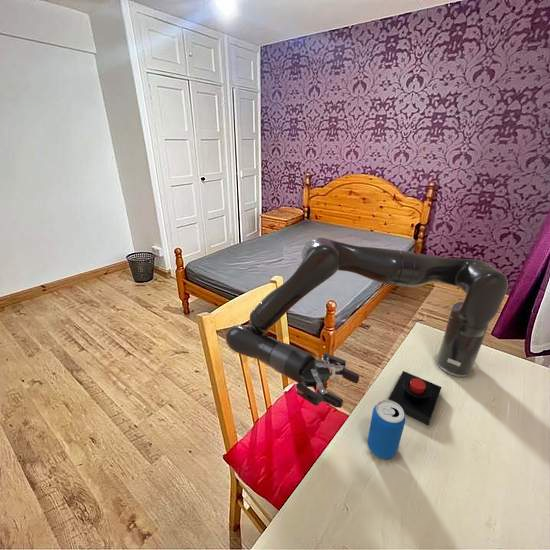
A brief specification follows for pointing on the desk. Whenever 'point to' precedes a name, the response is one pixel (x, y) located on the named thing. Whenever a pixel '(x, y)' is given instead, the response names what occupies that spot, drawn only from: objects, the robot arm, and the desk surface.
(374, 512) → the desk surface
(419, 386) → the plunger
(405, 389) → the button housing
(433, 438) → the desk surface
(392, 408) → the beverage can
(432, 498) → the desk surface
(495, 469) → the desk surface
